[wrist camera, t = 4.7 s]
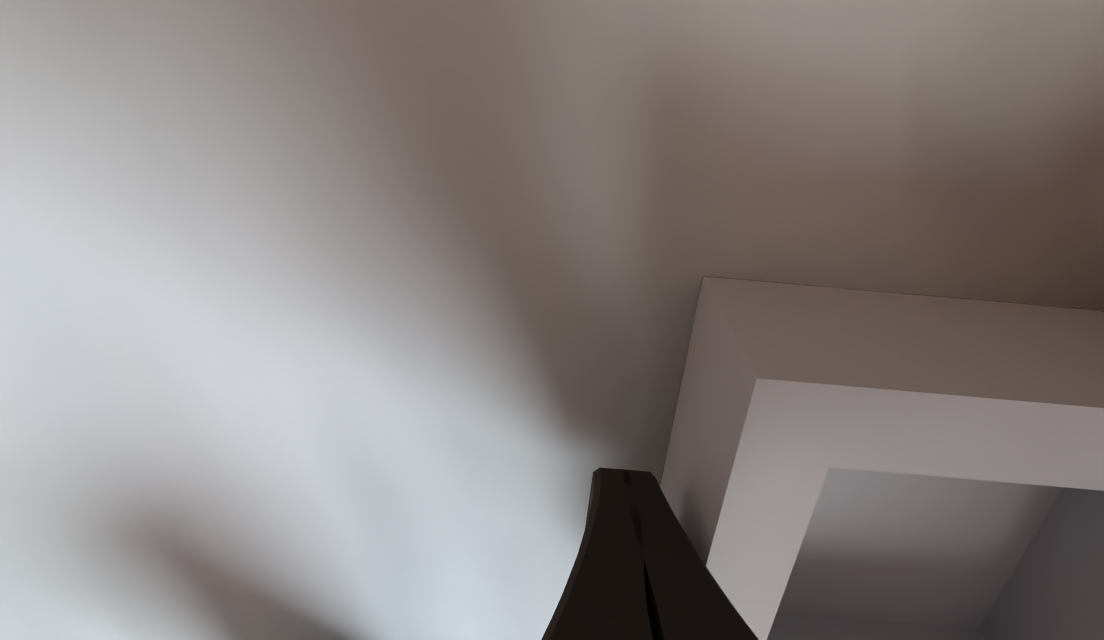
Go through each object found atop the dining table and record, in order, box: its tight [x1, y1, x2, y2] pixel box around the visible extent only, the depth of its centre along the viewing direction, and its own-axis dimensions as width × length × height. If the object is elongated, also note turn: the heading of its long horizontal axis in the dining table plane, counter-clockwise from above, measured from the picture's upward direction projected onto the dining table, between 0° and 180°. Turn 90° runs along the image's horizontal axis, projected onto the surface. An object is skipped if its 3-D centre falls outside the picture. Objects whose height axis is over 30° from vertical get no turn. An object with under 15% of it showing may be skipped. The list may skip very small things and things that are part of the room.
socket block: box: [660, 276, 1104, 640], centre depth 11 cm, size 9×9×4 cm
